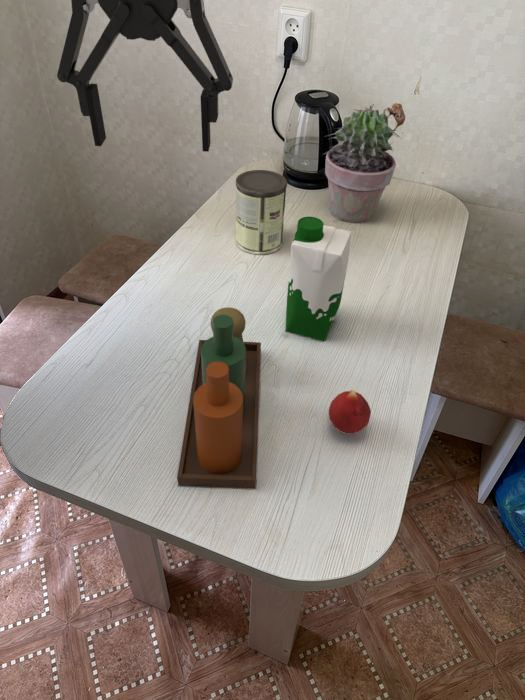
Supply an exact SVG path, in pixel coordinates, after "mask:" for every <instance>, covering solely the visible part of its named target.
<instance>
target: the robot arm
mask: <svg viewBox="0 0 525 700" xmlns="http://www.w3.org/2000/svg"><path fill="white" fill-rule="evenodd" d="M70 2H71V17H70V21H69V25H68V30H67V32H66V37H65V41H64V44H63V49H62V54H61V58H60V62H59V65H58V69H57V72H56V77H57V79H58V81H59V82H61V83H68V84H70V85H72V86H73V87H74V88H75V90H76V94H77V98H78V103H79V104H78V105H79V108H80V113H81V114H82V116H83V117H89V121H90V126H91V131H92V138H93V143H94V146H95V147H102V145H103V144H104V143H105V141H106V139H107V134H106V127H105V123H104V116H103V111H102V105H101V104H102V103H101V99H100V94H99V93H100V92H99V86H98V83H90V81H91V80H92V78H93V76H94V74H95V73H96V72H97V70H98V68H99V66H100V65H101V63H102V62H103V60H104V59H105V57H106V55H108V52H109V50H110V49H111V48H112V46H113V44H114V43H115V41H116V40H117V38H118V37H119V35H122V36H123V37H124V38H126V40H138V39H143V40H146V41H149V42H154V41H156V40H158V39H160V38H162V40H163V41H164V43H165V44H166V45H167V46H168V47H170V48H171V49H172V51H173V53H175V55H176V56H177V57H178V58H179V60H180V61H181V62H182V63H183V65H184V67H186V68H187V70H188V71H189V72H190V73H191V75H192V76H193V77H194V79H195V80H196V81H197V82H198V83H199V85H200V86H201V88H202V91H201V94H200V117H201V119H200V123H201V145H202V152H206V153H208V152H209V151H210V147H211V143H212V142H211V123H214V124H215V123H217V121H218V118H219V95H220V93H222V92H228V91H231V90H232V87H233V83H234V76H233V74H232V72H231V69H230V68H229V65H228V63H227V61H226V59H225V57H224V54H223V51H222V50H221V47H220V45H219V43H218V40H217V38H216V36H215V34H214V32H213V29H212V27H211V24H210V22H209V20H208V17H207V16H206V10H205V3H204V0H70ZM96 4H98V5H99V7H100V8H101V10H102V11H103V12H104V14H105V15H106V17H107V18H108V19H109V22H108V23H107V25H106V27H104V30H103V31H102V33H101V35H100V37H99V39H98V40H97V42H96V44H95V45H94V46H93V49H92V51H91V52H90V53H89V55H88V57H87V59H86V60H85V62H84V63H83V65H82V67H81V69H80V70H76V66H77V62H78V59H79V55H80V52H81V48H82V43H83V40H84V36H85V33H86V28H87V25H88V21H89V16H90V13H92V12H93V11H94V10H95V8H96ZM178 9H181V10H182V11H183V12H184V15H185V17H186V18H187V19H191V22H192V25H193V27H194V30H195V32H196V34H197V36H198V38H199V41H200V43H201V45H202V47H203V50H204V51H205V54H206V56H207V58H208V60H209V62H210V64H211V66H212V69H213V71H214V73H215V75H216V77H217V78H216V77H215V76H214V75H213V73H212V72H211V71H210V69H208V67H207V66H206V64H205V63H204V62H203V60H202V59H201V58H200V56H199V54H197V53H196V51H195V50H194V49H193V48H192V46H191V45H190V43H189V42H188V41H187V39H185V38H186V37H184V36H183V34H182V32H181V30H180V29H179V27H178V26H177V24H176V23H175V22H174V21H173V20H172V19H173V18H174V16H175V14H176V13H177V11H178Z"/></svg>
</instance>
